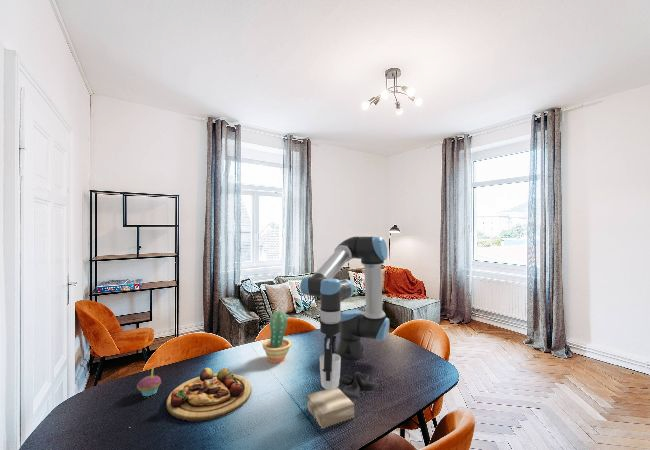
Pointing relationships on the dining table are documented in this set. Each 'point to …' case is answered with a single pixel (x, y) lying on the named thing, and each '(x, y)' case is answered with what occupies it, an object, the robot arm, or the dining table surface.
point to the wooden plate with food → (208, 396)
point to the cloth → (357, 384)
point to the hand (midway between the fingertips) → (330, 382)
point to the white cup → (335, 370)
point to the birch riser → (330, 407)
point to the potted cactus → (277, 338)
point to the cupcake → (149, 384)
